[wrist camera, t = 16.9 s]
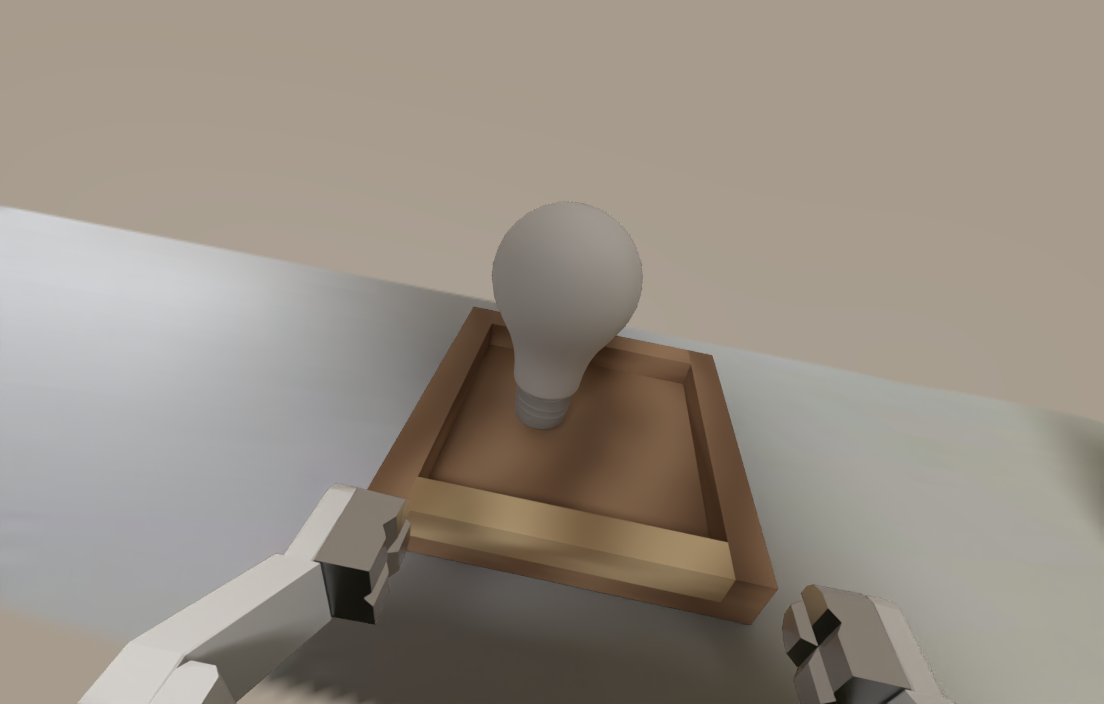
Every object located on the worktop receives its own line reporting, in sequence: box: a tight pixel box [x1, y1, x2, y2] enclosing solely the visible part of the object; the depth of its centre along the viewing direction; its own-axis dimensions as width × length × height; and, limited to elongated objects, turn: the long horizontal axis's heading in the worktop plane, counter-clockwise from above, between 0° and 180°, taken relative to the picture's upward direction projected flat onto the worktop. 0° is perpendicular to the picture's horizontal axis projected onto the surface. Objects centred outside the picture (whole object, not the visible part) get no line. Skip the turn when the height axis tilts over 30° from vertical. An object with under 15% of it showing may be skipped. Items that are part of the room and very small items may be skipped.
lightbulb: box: [492, 202, 643, 430], centre depth 21 cm, size 6×6×11 cm
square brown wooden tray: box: [367, 307, 778, 625], centre depth 24 cm, size 15×15×2 cm
